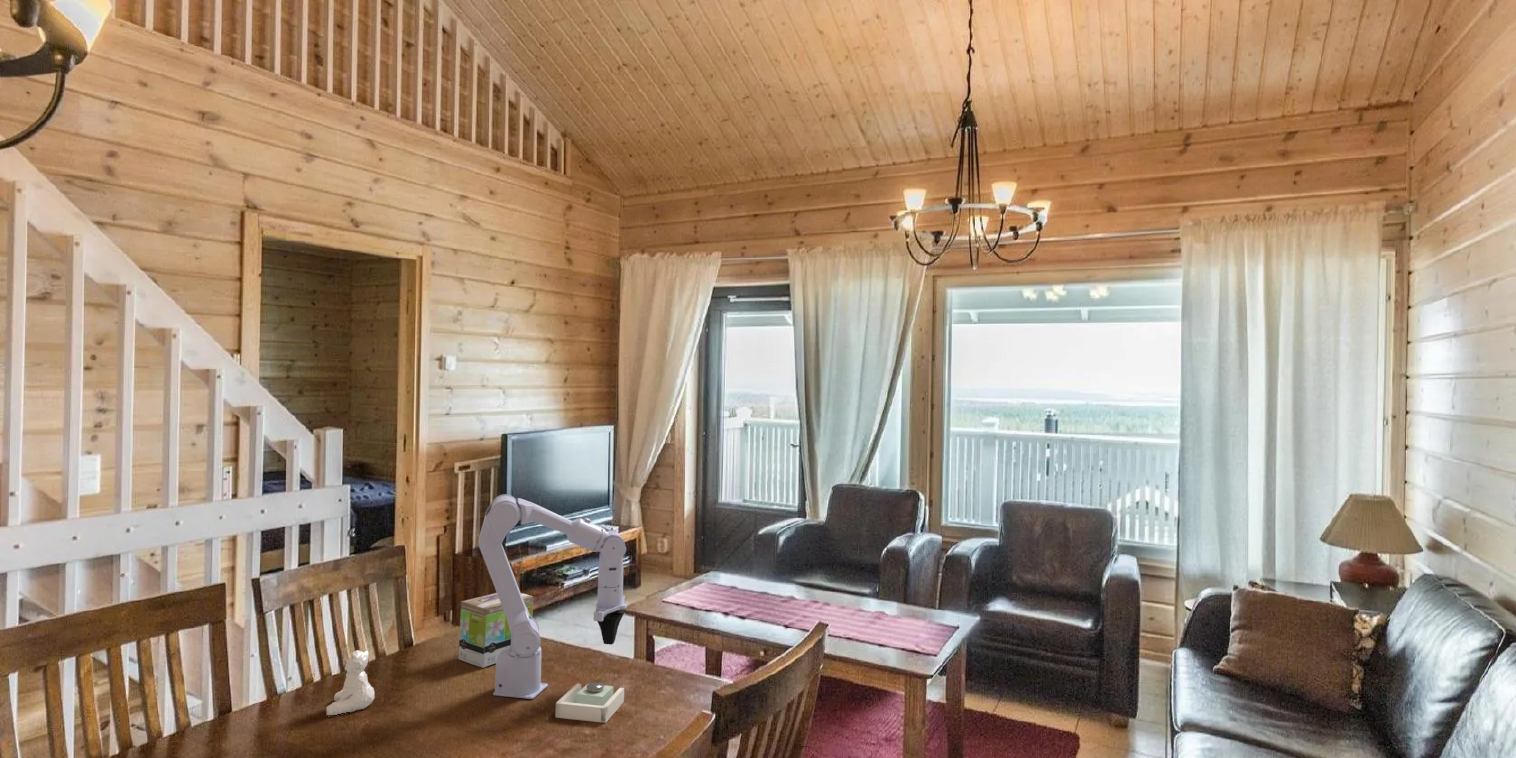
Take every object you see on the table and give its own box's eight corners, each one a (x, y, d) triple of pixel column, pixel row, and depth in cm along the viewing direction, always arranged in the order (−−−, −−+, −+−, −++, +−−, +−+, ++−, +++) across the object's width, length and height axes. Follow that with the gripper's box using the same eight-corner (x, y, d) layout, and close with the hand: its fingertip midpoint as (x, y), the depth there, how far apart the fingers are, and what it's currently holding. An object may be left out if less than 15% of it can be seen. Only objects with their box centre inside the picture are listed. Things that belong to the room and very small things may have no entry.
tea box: (484, 669, 196) (485, 608, 196) (457, 660, 201) (458, 600, 201) (533, 652, 208) (534, 594, 208) (506, 644, 214) (507, 587, 214)
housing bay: (555, 717, 170) (555, 703, 170) (576, 696, 181) (576, 683, 181) (605, 722, 168) (605, 708, 168) (623, 701, 179) (624, 688, 179)
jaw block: (575, 710, 174) (576, 689, 174) (587, 699, 180) (588, 678, 180) (602, 713, 173) (602, 692, 173) (613, 702, 179) (613, 681, 179)
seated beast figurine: (336, 699, 176) (337, 644, 176) (379, 696, 179) (380, 641, 178) (324, 717, 167) (325, 659, 167) (370, 714, 169) (371, 656, 169)
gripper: (615, 594, 181) (613, 655, 181) (637, 578, 195) (636, 634, 195) (585, 591, 182) (583, 652, 182) (609, 576, 196) (608, 632, 196)
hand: (608, 643), depth 189 cm, fingers closed
